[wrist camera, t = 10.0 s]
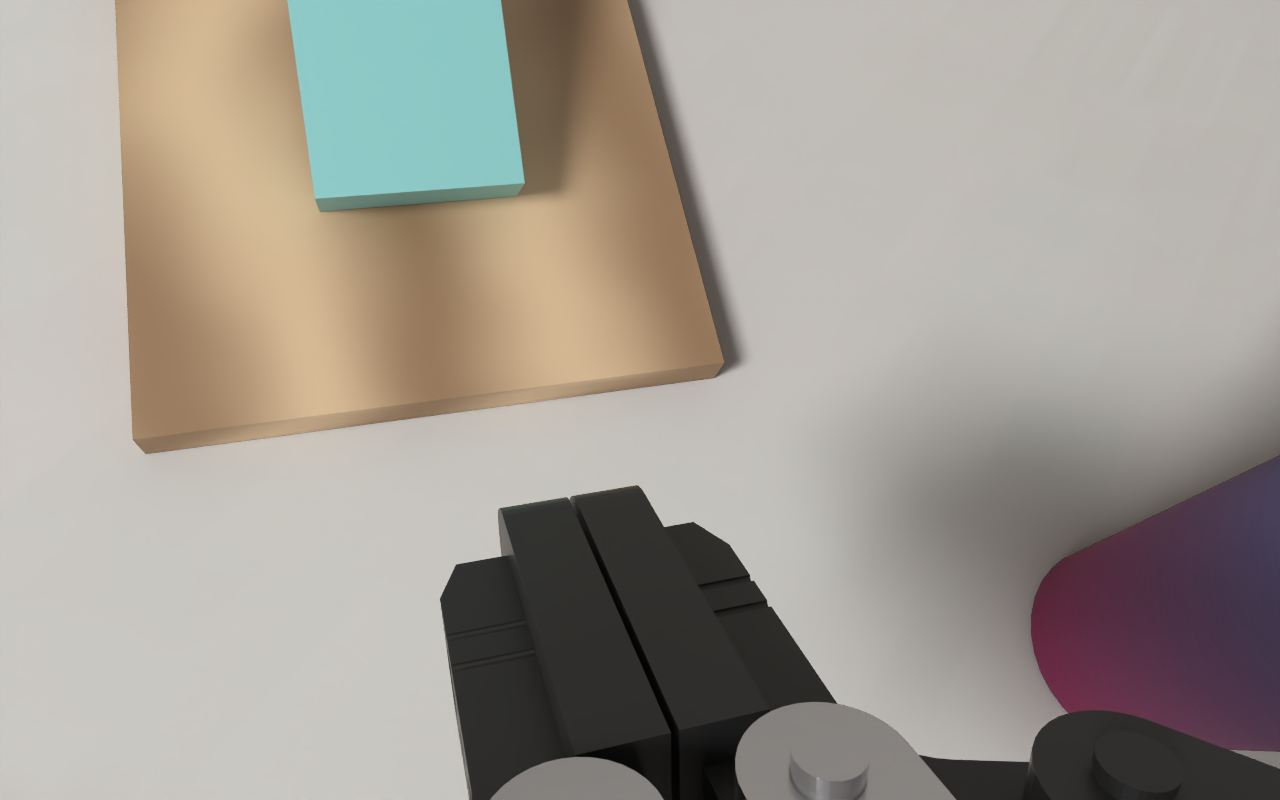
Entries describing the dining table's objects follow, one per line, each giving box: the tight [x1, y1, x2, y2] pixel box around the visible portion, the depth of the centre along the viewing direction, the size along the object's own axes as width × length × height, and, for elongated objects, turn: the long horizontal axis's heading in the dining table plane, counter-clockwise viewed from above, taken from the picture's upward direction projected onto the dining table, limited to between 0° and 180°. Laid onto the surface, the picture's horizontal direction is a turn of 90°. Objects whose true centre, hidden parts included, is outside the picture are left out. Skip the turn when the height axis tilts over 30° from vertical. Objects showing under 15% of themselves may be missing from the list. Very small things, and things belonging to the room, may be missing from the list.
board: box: [115, 0, 724, 454], centre depth 27 cm, size 14×25×1 cm, turn 12°
